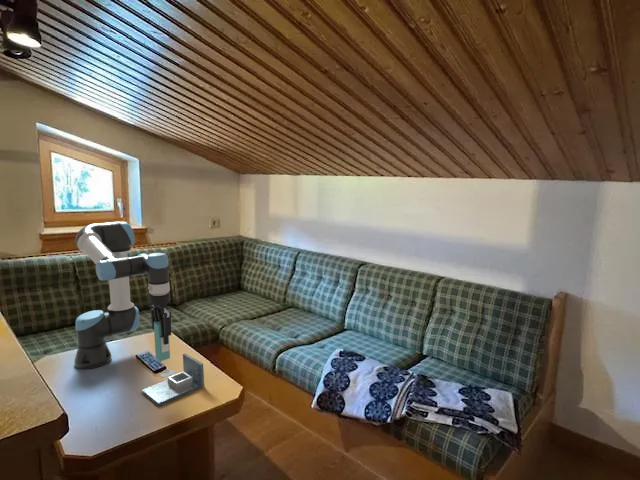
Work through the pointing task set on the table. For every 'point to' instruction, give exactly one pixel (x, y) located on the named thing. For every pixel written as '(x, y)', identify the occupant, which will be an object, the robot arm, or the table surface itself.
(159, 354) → the teal block
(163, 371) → the mounting bracket
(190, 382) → the cup bracket
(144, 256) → the robot arm
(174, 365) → the table surface
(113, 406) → the table surface
